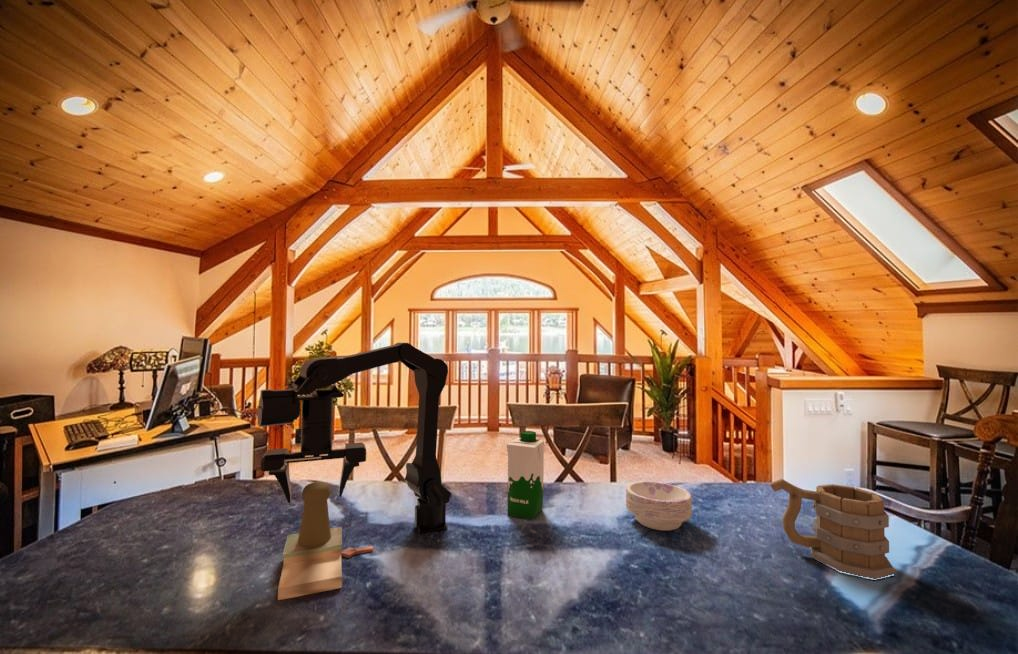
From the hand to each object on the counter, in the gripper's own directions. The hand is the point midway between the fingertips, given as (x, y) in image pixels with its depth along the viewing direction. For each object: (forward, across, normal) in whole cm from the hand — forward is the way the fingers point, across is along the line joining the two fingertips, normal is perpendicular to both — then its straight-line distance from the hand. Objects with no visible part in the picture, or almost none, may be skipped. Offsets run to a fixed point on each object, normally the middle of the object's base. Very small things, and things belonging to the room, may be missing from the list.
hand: (315, 499), depth 84 cm
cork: (+8, 0, 0) cm, 8 cm away
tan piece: (+12, -3, +4) cm, 13 cm away
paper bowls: (+12, -77, +11) cm, 79 cm away
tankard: (+12, -98, +37) cm, 105 cm away
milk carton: (+12, -49, -6) cm, 51 cm away
